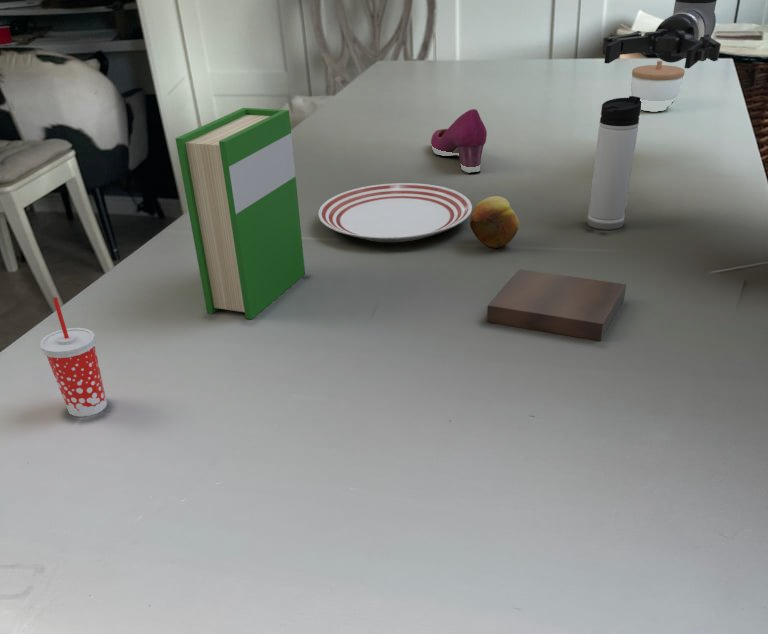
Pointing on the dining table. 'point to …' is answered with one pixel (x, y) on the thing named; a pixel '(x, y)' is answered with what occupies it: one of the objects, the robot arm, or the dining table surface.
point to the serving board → (557, 304)
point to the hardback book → (243, 208)
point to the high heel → (463, 138)
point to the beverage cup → (75, 367)
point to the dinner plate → (395, 211)
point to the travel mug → (613, 162)
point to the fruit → (494, 222)
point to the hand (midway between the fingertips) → (647, 56)
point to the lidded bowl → (656, 82)
